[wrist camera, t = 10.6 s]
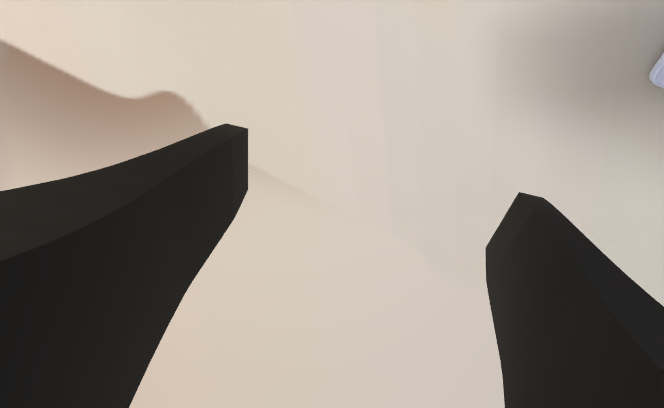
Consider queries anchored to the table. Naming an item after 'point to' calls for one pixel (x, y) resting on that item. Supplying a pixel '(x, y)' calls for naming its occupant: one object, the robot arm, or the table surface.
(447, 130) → the table surface
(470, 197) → the table surface
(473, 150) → the table surface
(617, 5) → the table surface
